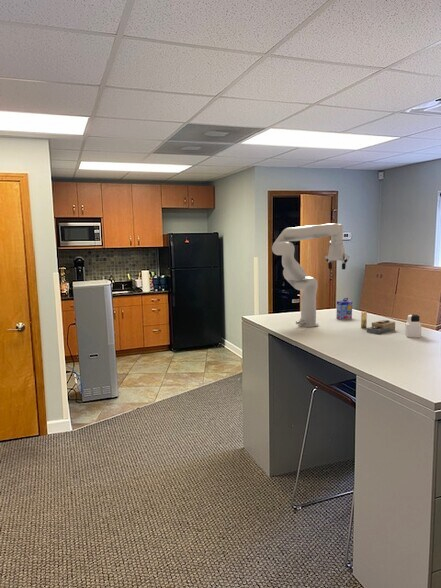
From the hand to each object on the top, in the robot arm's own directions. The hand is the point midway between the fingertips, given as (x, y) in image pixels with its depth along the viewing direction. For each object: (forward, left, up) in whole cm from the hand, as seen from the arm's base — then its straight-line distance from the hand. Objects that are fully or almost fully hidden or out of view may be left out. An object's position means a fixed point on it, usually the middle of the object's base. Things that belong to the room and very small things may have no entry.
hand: (336, 269), depth 279 cm
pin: (-5, -25, -35) cm, 43 cm away
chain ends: (-5, -37, -35) cm, 51 cm away
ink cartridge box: (+11, +3, -35) cm, 37 cm away
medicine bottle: (-3, -56, -35) cm, 66 cm away
